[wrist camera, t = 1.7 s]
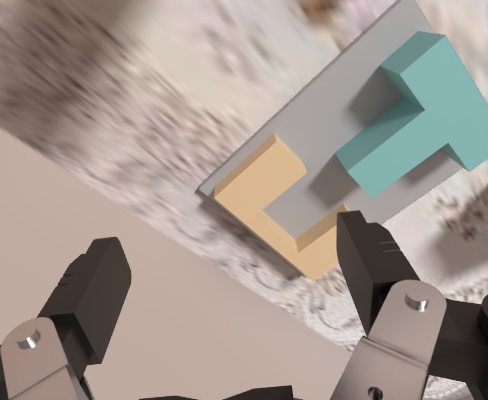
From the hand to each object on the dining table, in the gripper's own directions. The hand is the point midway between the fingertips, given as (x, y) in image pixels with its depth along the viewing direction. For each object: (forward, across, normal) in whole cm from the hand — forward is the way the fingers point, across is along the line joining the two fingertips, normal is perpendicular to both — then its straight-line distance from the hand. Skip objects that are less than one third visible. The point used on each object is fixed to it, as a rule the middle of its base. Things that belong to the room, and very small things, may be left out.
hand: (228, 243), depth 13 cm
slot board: (+24, -11, +9) cm, 27 cm away
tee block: (+23, -15, +5) cm, 28 cm away
